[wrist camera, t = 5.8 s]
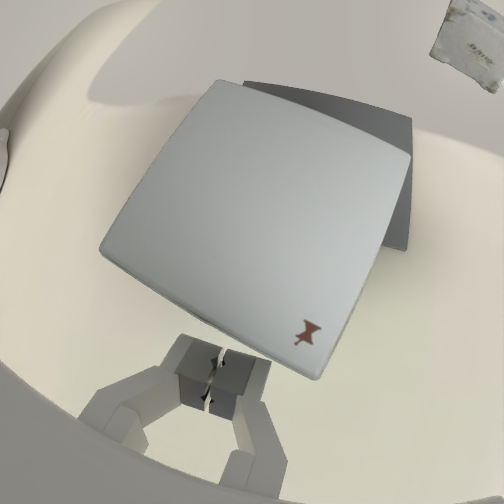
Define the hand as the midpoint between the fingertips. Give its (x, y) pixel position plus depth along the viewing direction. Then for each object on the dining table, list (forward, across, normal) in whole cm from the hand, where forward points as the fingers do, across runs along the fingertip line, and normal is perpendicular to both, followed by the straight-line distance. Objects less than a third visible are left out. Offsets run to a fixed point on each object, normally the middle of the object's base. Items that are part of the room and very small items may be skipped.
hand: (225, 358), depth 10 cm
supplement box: (+10, 0, +3) cm, 11 cm away
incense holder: (+33, -18, -19) cm, 43 cm away
